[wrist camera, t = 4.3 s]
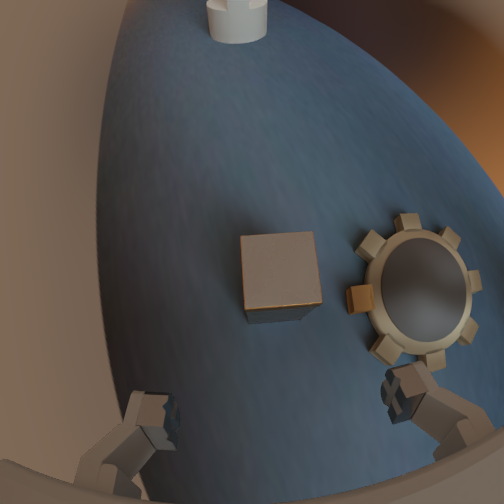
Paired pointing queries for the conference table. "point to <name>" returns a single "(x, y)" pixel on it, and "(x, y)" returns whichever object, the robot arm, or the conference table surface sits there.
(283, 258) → the link block
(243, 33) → the base with upright slab
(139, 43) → the conference table surface
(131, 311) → the conference table surface
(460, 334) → the toothed wheel
